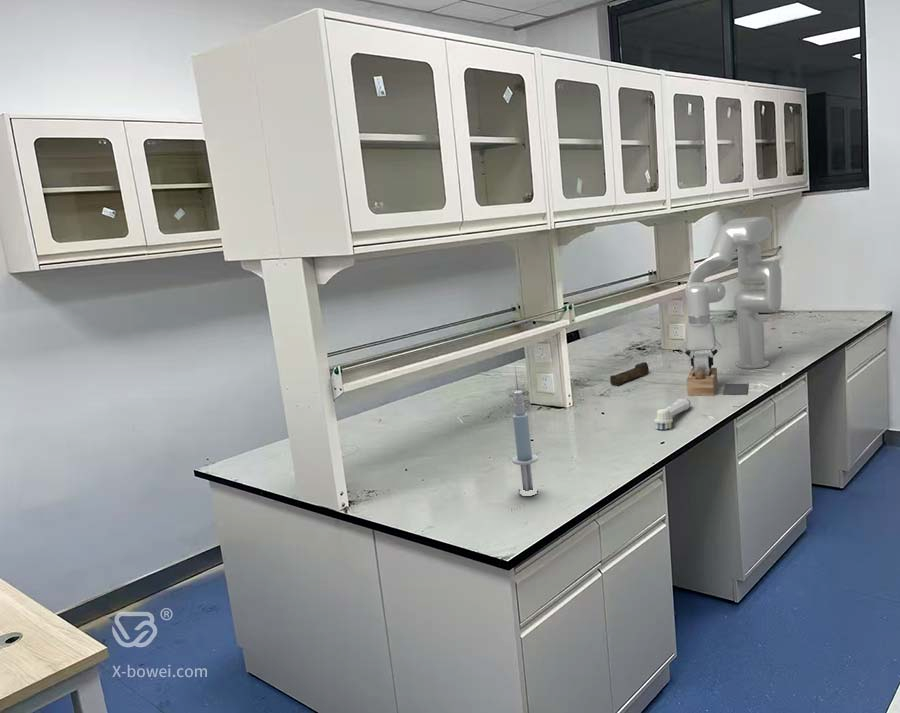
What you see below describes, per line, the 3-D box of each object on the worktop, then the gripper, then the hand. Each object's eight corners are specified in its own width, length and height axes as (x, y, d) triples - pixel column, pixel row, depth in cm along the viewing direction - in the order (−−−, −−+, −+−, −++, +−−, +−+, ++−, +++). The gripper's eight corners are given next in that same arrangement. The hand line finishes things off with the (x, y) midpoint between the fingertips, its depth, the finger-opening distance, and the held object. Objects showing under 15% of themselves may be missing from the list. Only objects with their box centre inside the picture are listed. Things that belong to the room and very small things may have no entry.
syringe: (521, 499, 186) (508, 364, 179) (517, 490, 192) (505, 359, 186) (542, 496, 186) (531, 361, 179) (538, 487, 192) (526, 356, 186)
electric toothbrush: (692, 397, 243) (668, 408, 223) (692, 417, 244) (668, 430, 223) (677, 397, 246) (651, 407, 226) (677, 416, 247) (651, 428, 226)
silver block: (696, 374, 269) (695, 353, 267) (710, 373, 267) (709, 353, 265) (695, 379, 263) (693, 358, 261) (709, 379, 261) (708, 357, 259)
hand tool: (619, 387, 283) (618, 373, 282) (609, 385, 287) (608, 372, 286) (655, 374, 296) (654, 361, 295) (645, 373, 300) (645, 360, 299)
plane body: (692, 383, 275) (691, 358, 273) (717, 382, 271) (716, 357, 270) (687, 395, 259) (686, 369, 257) (713, 395, 256) (712, 368, 254)
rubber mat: (725, 384, 268) (725, 383, 267) (748, 384, 264) (748, 383, 264) (722, 394, 255) (722, 393, 255) (746, 394, 252) (746, 393, 252)
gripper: (724, 316, 260) (727, 364, 264) (676, 319, 267) (679, 365, 271) (723, 320, 254) (726, 369, 257) (673, 323, 261) (677, 370, 265)
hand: (702, 366), depth 264 cm, fingers closed on silver block, 5 cm apart
